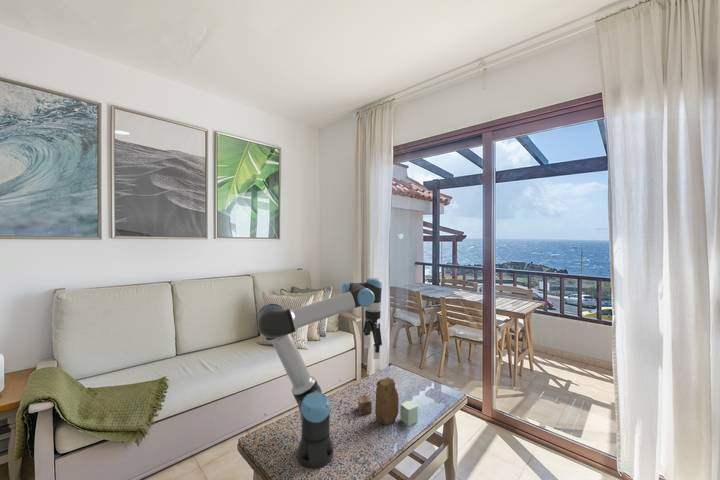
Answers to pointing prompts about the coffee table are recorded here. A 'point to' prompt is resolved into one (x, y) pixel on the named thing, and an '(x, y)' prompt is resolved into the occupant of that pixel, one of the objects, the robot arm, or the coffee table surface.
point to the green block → (408, 413)
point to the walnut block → (364, 404)
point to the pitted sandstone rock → (386, 401)
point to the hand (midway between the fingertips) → (371, 353)
